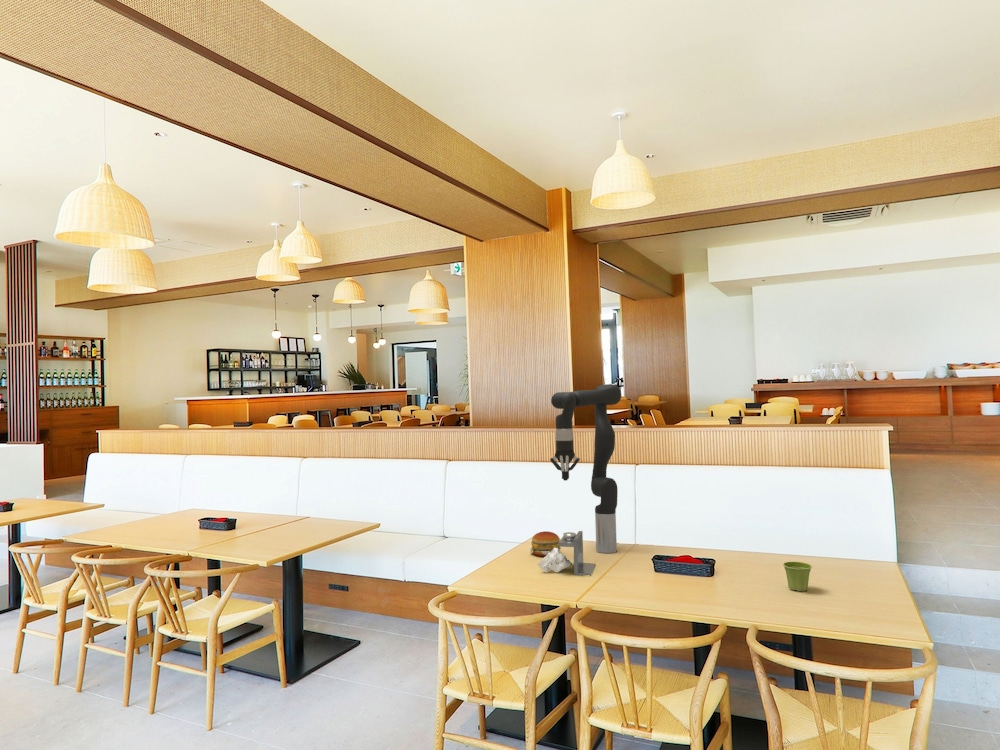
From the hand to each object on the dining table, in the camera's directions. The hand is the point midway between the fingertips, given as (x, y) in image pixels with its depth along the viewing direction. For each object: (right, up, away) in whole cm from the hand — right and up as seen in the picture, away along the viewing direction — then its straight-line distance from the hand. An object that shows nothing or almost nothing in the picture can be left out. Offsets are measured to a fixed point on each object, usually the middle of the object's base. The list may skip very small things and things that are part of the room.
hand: (565, 480), depth 273 cm
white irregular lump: (-5, -35, -11) cm, 37 cm away
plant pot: (+79, -32, -43) cm, 95 cm away
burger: (-7, -36, +15) cm, 40 cm away
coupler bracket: (+4, -35, -11) cm, 37 cm away
